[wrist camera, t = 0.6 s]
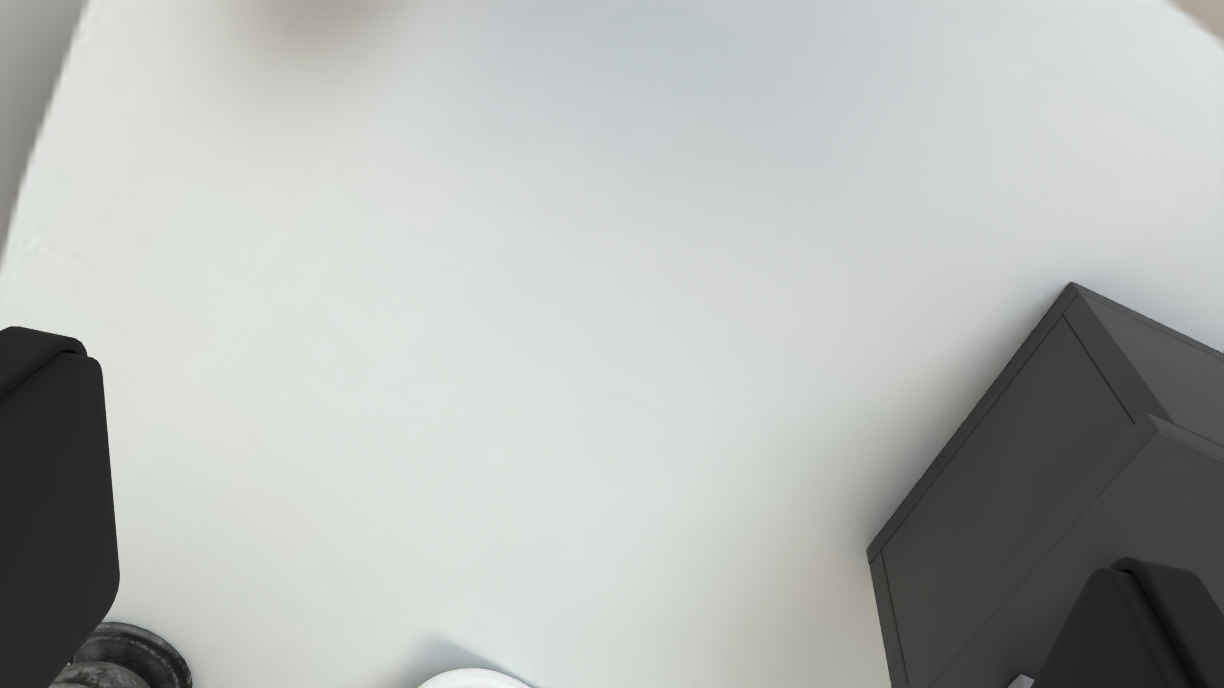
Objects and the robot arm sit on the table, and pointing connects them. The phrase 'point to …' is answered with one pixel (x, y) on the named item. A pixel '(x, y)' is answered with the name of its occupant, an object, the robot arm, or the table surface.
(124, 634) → the chess piece
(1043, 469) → the black open box
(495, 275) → the table surface
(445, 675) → the mug
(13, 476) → the robot arm
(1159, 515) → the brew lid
